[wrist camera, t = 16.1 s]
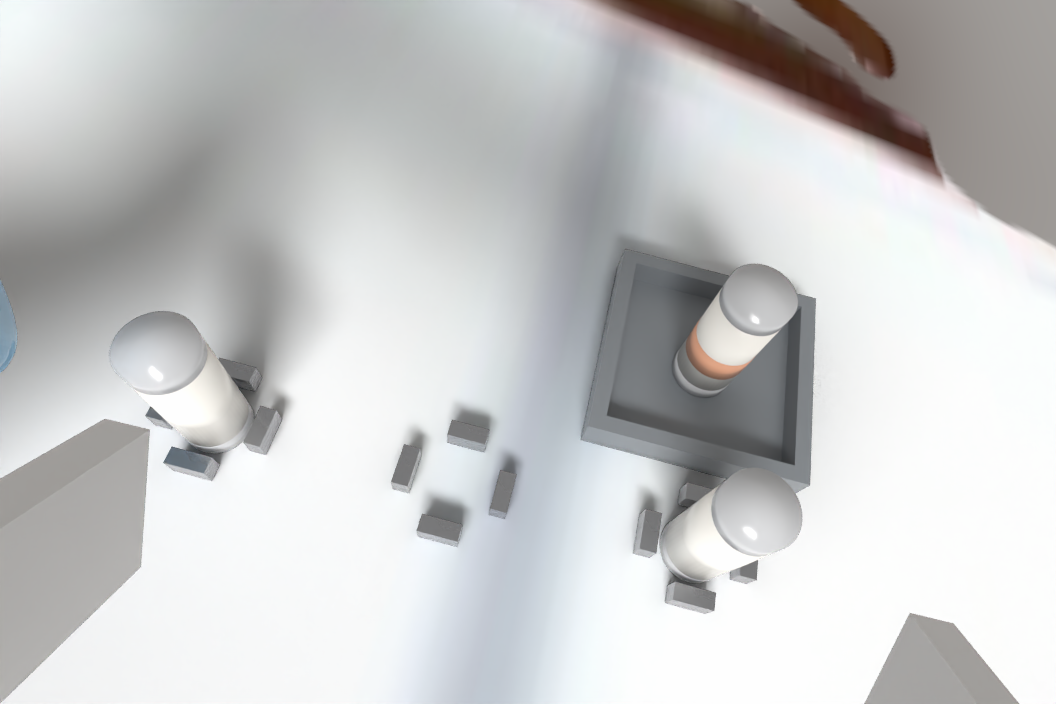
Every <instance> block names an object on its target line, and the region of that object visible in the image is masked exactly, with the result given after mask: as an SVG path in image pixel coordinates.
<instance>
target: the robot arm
mask: <svg viewBox="0 0 1056 704" xmlns="http://www.w3.org/2000/svg"><path fill="white" fill-rule="evenodd" d="M16 347H17V328H16V323H15V318H14V315H13V311H12V308H11V305H10V302H9V299H8V297H7V294H6V292H5V289H4V287H3V284H2V282H1V280H0V373H1V372H2V371H3V370H4V369H5V368H6V367H7V366H8V364H9V363H10V361H11V360H12V358H13V356H14V353H15V350H16ZM149 435H150V430H149V429H145V428H141V427H136V426H132V425H128V424H124V423H120V422H116V421H112V420H107V419H104V420H102V421H100V422H98V423H97V424H95V425H93V426H91V427H90V428H88V429H86V430H84V431H83V432H81V433H79V434H77V435H76V436H74V437H72V438H71V439H69V440H67V441H65V442H64V443H62V444H60V445H58V446H57V447H55V448H53V449H51V450H50V451H48V452H46V453H44V454H43V455H41V456H39V457H37V458H36V459H34V460H32V461H30V462H29V463H27V464H25V465H23V466H22V467H20V468H18V469H16V470H15V471H13V472H11V473H10V474H8V475H6V476H4V477H3V478H1V479H0V703H1V702H2V701H3V700H4V699H5V698H6V697H7V696H8V695H9V694H10V693H11V692H12V691H13V690H14V689H16V688H17V687H18V686H19V685H20V684H21V683H22V682H23V681H24V680H25V679H26V678H27V677H28V676H29V675H30V674H31V673H32V672H33V671H34V670H35V669H36V668H37V667H38V666H39V665H40V664H41V663H42V662H43V661H44V660H45V659H46V658H48V657H49V656H50V655H51V654H52V653H53V652H54V651H55V650H56V649H57V648H58V647H59V646H60V645H61V644H62V643H63V642H64V641H65V640H66V639H67V638H68V637H69V636H70V635H71V634H72V633H73V632H74V631H75V630H76V629H77V628H78V627H79V626H81V625H82V624H83V623H84V622H85V621H86V620H87V619H88V618H89V617H90V616H91V615H92V614H93V613H94V612H95V611H96V610H97V609H98V608H99V607H100V606H101V605H102V604H103V603H104V602H105V601H106V600H107V599H108V598H109V597H110V596H111V595H112V594H114V593H115V592H116V591H117V590H118V589H119V588H120V587H121V586H122V585H123V584H124V583H125V582H126V581H127V580H128V579H129V578H130V577H131V576H132V575H133V574H134V573H135V572H136V571H137V570H138V569H139V568H140V567H141V558H142V542H143V527H144V512H145V496H146V481H147V466H148V450H149ZM865 704H1019V703H1018V702H1017V700H1016V699H1015V698H1014V697H1013V696H1012V694H1011V693H1010V692H1009V691H1008V689H1007V688H1006V687H1005V686H1004V685H1003V683H1002V682H1001V681H1000V680H999V678H998V677H997V676H996V675H995V674H994V672H993V671H992V670H991V669H990V667H989V666H988V665H987V664H986V663H985V661H984V660H983V659H982V658H981V656H980V655H979V654H978V653H977V652H976V650H975V649H974V648H973V647H972V645H971V644H970V643H969V642H968V641H967V639H966V638H965V637H964V636H963V635H962V633H961V632H960V631H959V630H958V628H957V627H956V626H955V625H954V624H953V623H949V622H945V621H941V620H937V619H932V618H928V617H924V616H920V615H916V614H912V613H910V614H909V616H908V618H907V620H906V622H905V624H904V626H903V628H902V630H901V632H900V634H899V636H898V638H897V640H896V642H895V644H894V646H893V648H892V650H891V652H890V654H889V656H888V658H887V660H886V662H885V664H884V666H883V668H882V670H881V672H880V674H879V676H878V678H877V680H876V682H875V684H874V686H873V688H872V690H871V692H870V694H869V696H868V698H867V700H866V702H865Z"/></svg>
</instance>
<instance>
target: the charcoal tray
mask: <svg viewBox="0 0 1056 704" xmlns="http://www.w3.org/2000/svg"><path fill="white" fill-rule="evenodd" d="M729 277H730V276H728V275H724V274H720V273H716V272H712V271H709V270H705V269H701V268H697V267H693V266H689V265H686V264H682V263H678V262H674V261H670V260H667V259H663V258H659V257H655V256H651V255H647V254H644V253H640V252H636V251H632V250H628V249H625V250H624V253H623V255H622V258H621V260H620V263H619V265H618V268H617V271H616V276H615V281H614V286H613V290H612V295H611V300H610V304H609V309H608V314H607V319H606V323H605V328H604V333H603V337H602V342H601V347H600V352H599V356H598V361H597V366H596V370H595V375H594V380H593V385H592V389H591V394H590V399H589V403H588V408H587V413H586V418H585V422H584V427H583V432H582V437H581V440H583V441H587V442H591V443H594V444H598V445H602V446H606V447H609V448H613V449H617V450H621V451H624V452H628V453H632V454H636V455H640V456H643V457H647V458H651V459H655V460H658V461H662V462H666V463H670V464H673V465H677V466H681V467H685V468H688V469H692V470H696V471H700V472H703V473H707V474H711V475H715V476H718V477H722V478H726V479H728V478H729V477H730V476H731V475H733V474H734V473H736V472H738V471H739V470H742V469H746V468H761V469H765V470H768V471H771V472H773V473H775V474H776V475H778V476H780V477H781V478H782V479H783V480H785V481H786V482H787V483H788V484H789V486H790V487H791V488H792V489H793V491H794V492H795V493H797V492H799V491H800V490H802V489H804V488H806V487H808V486H809V485H810V471H811V438H812V406H813V373H814V340H815V308H816V298H812V297H808V296H804V295H800V294H797V293H796V294H797V298H798V305H797V310H796V312H795V314H794V315H793V317H792V318H791V319H790V320H789V321H788V322H787V323H786V324H785V325H784V326H783V327H782V328H781V330H780V331H779V332H778V333H777V334H776V335H775V336H774V337H773V338H772V339H771V340H770V341H769V342H768V343H767V344H766V345H765V347H764V348H763V349H762V350H761V351H760V352H759V353H758V354H757V355H756V356H755V358H754V359H753V360H752V361H751V362H750V363H749V364H748V365H747V366H746V367H745V368H744V369H743V370H742V371H741V372H740V373H739V374H738V375H737V376H736V377H735V378H734V379H733V381H732V382H731V383H730V384H729V385H728V386H727V387H726V388H725V389H724V390H723V391H722V392H721V393H720V394H718V395H716V396H714V397H709V398H700V397H696V396H693V395H691V394H689V393H687V392H686V391H684V390H683V389H682V388H681V387H680V386H679V385H678V383H677V382H676V380H675V378H674V376H673V373H672V361H673V358H674V356H675V355H676V353H677V352H678V350H679V349H680V347H681V346H682V345H683V343H684V342H685V340H686V339H687V337H688V336H689V334H690V332H691V331H692V330H693V328H694V327H695V325H696V324H697V322H698V321H699V319H700V318H701V317H702V316H703V314H704V313H705V311H706V310H707V309H708V307H709V306H710V304H711V303H712V301H713V300H714V298H715V297H716V296H717V294H718V293H719V291H720V290H721V288H722V287H723V285H724V284H725V283H726V281H727V280H728V278H729Z"/></svg>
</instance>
